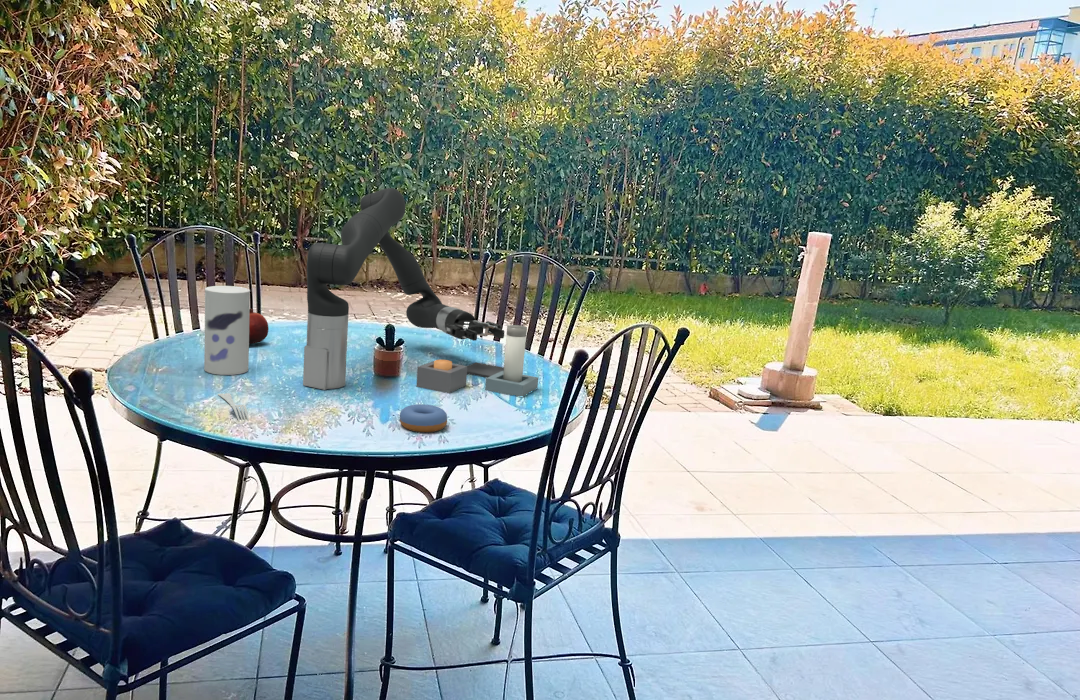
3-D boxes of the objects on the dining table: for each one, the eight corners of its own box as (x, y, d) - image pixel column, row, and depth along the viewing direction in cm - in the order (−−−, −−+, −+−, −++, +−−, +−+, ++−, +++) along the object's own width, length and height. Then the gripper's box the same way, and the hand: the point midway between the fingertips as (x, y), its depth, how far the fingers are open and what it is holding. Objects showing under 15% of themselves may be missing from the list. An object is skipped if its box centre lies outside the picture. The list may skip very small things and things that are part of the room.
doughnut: (388, 425, 172) (392, 404, 171) (414, 417, 181) (417, 397, 180) (429, 440, 168) (433, 419, 168) (453, 430, 178) (457, 410, 177)
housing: (522, 397, 203) (523, 385, 203) (484, 390, 207) (485, 378, 206) (537, 388, 212) (538, 377, 212) (501, 381, 216) (502, 370, 215)
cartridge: (516, 393, 207) (522, 329, 203) (498, 389, 208) (504, 326, 205) (524, 389, 211) (530, 327, 208) (506, 385, 213) (511, 324, 209)
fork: (229, 404, 185) (229, 392, 185) (251, 422, 168) (251, 409, 167) (216, 405, 184) (216, 393, 183) (237, 423, 166) (237, 410, 166)
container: (205, 375, 196) (206, 291, 192) (203, 365, 205) (203, 284, 201) (250, 375, 200) (251, 292, 196) (246, 364, 209) (247, 285, 205)
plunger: (445, 387, 204) (446, 364, 202) (429, 384, 205) (430, 361, 204) (453, 384, 208) (455, 361, 206) (438, 381, 209) (439, 358, 208)
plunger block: (449, 393, 201) (450, 373, 200) (416, 386, 204) (417, 366, 203) (466, 385, 209) (467, 366, 208) (434, 379, 212) (435, 360, 211)
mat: (495, 379, 218) (495, 376, 218) (457, 371, 222) (457, 369, 222) (512, 371, 228) (512, 369, 228) (475, 364, 232) (475, 362, 232)
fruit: (224, 347, 225) (224, 310, 223) (229, 339, 234) (230, 304, 232) (265, 349, 227) (266, 312, 225) (269, 341, 236) (270, 306, 234)
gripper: (434, 310, 223) (467, 323, 211) (478, 307, 232) (513, 320, 220) (432, 337, 225) (465, 351, 212) (476, 334, 233) (510, 347, 221)
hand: (489, 335), depth 216 cm, fingers open, 8 cm apart
